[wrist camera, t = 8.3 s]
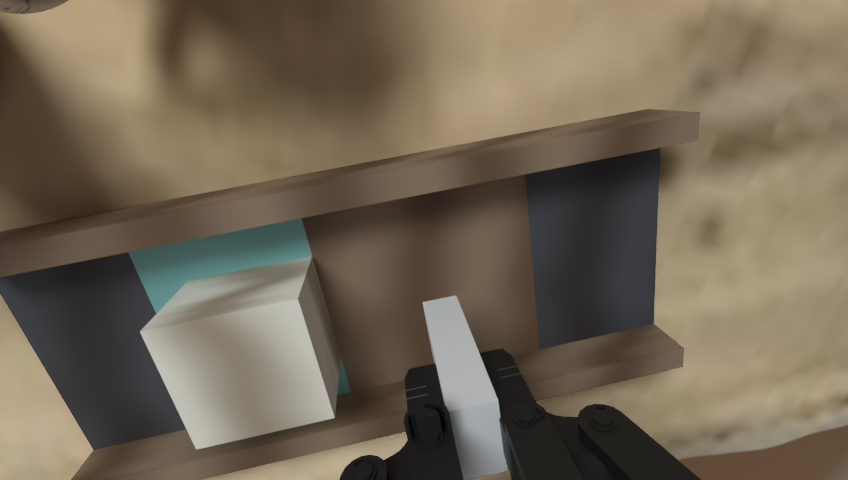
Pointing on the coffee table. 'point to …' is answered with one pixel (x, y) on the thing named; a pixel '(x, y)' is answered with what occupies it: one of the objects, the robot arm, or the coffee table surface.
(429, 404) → the robot arm
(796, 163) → the coffee table surface
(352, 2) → the coffee table surface
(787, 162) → the coffee table surface
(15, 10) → the teacup with lid
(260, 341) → the birch block
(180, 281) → the pad
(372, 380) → the channel
